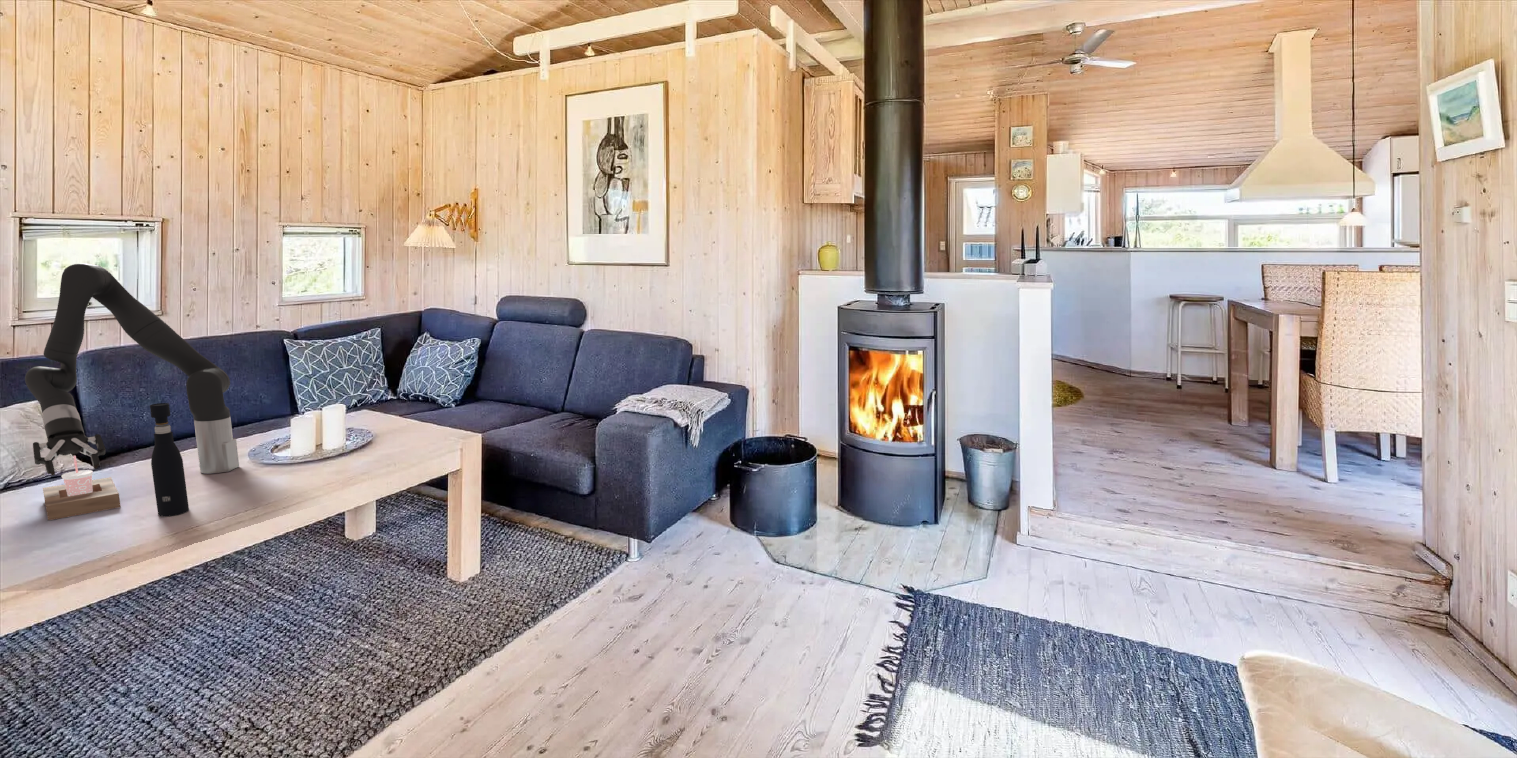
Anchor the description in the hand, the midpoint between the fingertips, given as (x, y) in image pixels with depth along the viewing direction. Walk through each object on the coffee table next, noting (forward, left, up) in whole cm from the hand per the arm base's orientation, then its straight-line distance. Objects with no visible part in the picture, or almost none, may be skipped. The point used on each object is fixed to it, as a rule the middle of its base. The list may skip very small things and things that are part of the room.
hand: (74, 470), depth 192 cm
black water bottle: (-32, +14, -9) cm, 36 cm away
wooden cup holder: (-4, +4, -9) cm, 10 cm away
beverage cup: (-3, +4, -9) cm, 10 cm away
